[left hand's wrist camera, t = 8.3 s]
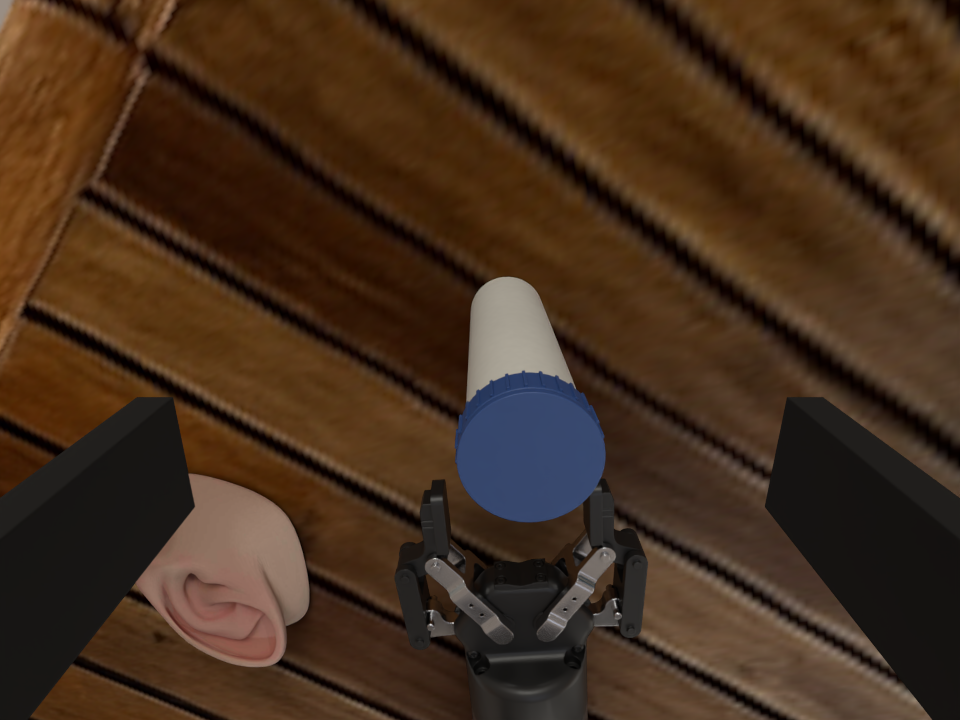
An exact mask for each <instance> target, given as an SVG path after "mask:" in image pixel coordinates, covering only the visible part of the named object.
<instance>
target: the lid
mask: <svg viewBox="0 0 960 720" xmlns="http://www.w3.org/2000/svg"><path fill="white" fill-rule="evenodd" d="M603 438H604V434H603V432H602V430H601V427H600V425H599V420H598V418H597V416H596V413H595V411H594V409H593V407H592V405H591V406H589V404H588V402H587V399H586V397H585V395H584V393H581V394H580V392H579V391H577V390H576V389H575V388H574V386H573V384H572V383H571V382H570V383H569V384H568V383H567V382H565V381H563V380H561V379H559V376H557V375H555V377H554V376H551V375H547V374H543V373H542V371H539V373H533V372H526V373H525V370H524V371H522V373H516V374H511V375H508V373H507V374H505V376H504V377H501V378H499V379H497V380H495V381H493V380H490V381H489V384H488V385H486V386H485V387H484V388H482V389H481V390H479V389H478V390H477V391H476V395H475V396H474V397H473V398H472V399H471V400H470V402H469V401H467V402H466V408H465V410H464V412H463V415H460V416H459V425H458V429H456V439H455V448H456V459H455V462H456V464H457V469H458V473H459V477H460V479H461V482H462V484H463V486H464V488H465V489H466V491H467V492H468V494H469V495H470V496H471V498H472V499H473V500H474V501H475V502H476V503H477V504H478V505H480V506H481V507H482V508H484V509H485V510H487V511H488V512H490V513H492V514H494V515H496V516H499V517H501V518H504V519H507V520H511V521H517V522H540V521H547V520H550V519H554V518H557V517H559V516H562V515H564V514H566V513H568V512H570V511H572V510H573V509H575V508H576V507H578V506H579V505H580V504H582V503H583V502H584V501H585V500H586V499H587V498H588V497H589V496H590V494H591V493H592V492H593V491H594V489H595V488H596V486H597V484H598V482H599V480H600V478H601V476H602V473H603V470H604V465H605V444H604V440H603Z"/></svg>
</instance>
